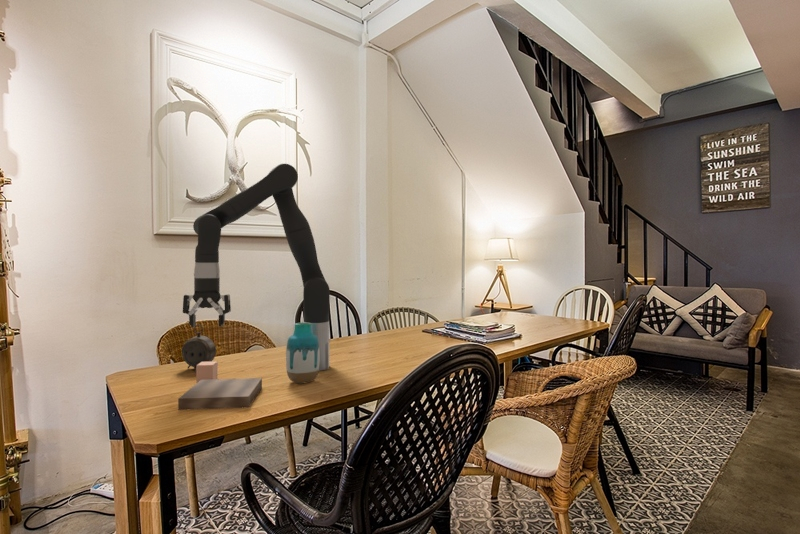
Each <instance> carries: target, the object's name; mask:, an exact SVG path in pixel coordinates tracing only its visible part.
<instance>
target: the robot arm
mask: <svg viewBox="0 0 800 534" xmlns="http://www.w3.org/2000/svg"><path fill="white" fill-rule="evenodd" d="M298 175H299V174H298V172H297V169H296V168H295V167H294V166H292V165H291V164H290V163H280V164H277V165H275V166H274V167H273V168H272V169H271V170H269V172H268V173H267V175H265V176H264V177H263V178H262V179H260V180H259V181H257V182H256V183H254V184H252V185H251V186H250V187H247V188H246V189H244V190H242V191H241V192H239V193H237V194H235V195H234V196H231V197H230V198H228V199H226V200H225V201H224V202H222V203H221V204H220V205H218V206H216V207H215V208H213V209H210V210H209V211H207V212H205V213H204V214H201V215H200V216H198V217H197V218H196V219H195V220H194V222H193V224H192V225H193V230H194V232H195V234H197V245H196V247H195V250H194V252H195V253H194V269H193V271H194V272H193V277H194V279H193V280H194V281H193V282H194V283H193V285H194V286H193V288H194V290H193V291H194V293H193V294H184V295H183V298H182V299H183V301H182V314H186V315H188V317H189V318H188V321H189V322H188V324H189V326H191V328H194V327H195V326H196V325H197V324H196V319H197V317H196V316H197V315H196V312H197V311H198V310H199V309H204V308H206V309H212V308H213V309H214V310H215V311H216V312H217V313H218V314H219V315H218V327H223V326H224V325H225V322H226V321H225V320H226V319H225V318H226V317H225V316H226V314H228V313H230V312H231V311H232V308H231V307H232V306H231V295H230V294H229V293H228V294H221V292H220V291H221V290H220V287H221V286H220V285H221V284H220V280H221V279H220V277H221V276H220V274H221V273H220V272H221V270H220V263H219V262H220V259H219V258H220V256H219V253H220V252H219V250H220V249H219V248H220V247H219V246H220V244H221V243H220V242H221V236H222V235H221V234H222V228H224V227H226V226H227V225H229V224H231V223H234V222H236V221H238V220H240V218H243V216H245V215H247V214H248V213H250V212H251V211H253V210H254V209H255V208H257V207H258V206H259V205H260V204H262V203H263V202H264V201H266V200H267V199H269V198H270V197H272V198H273V199H274V202H275V204H276V208H277V209H278V213H279V216H280V220H281V224H282V227H283V230H284V231H283V232H284V234H285V237H286V240H287V244H288V247H289V249H290V252H291V254H292V257H293V258H294V260H295V262H296V264H297V266H298V268H299V273H300V275H301V281H302V286H303V299H302V300H303V301H302V303H303V304H302V305H303V306H302V307H303V322H307V323H311V325H312V333H313V334H314V335H316V336H317V338H318V340H319V350H320V361H319V372H320V371H325V370H327V371H328V370H329V369H330V309H331V308H330V301H331V300H330V299H331V297H330V295H331V292H330V286H329V283H328V282H327V281H326V279H325V277H324V274H323V272H322V269H321V267H320V266H321V265H320V264H319V260H318V253H317V249H316V243H315V239H314V236H313V233H312V229H311V226H310V223H309V221H308V219H307V218H306V217H305V215H304V214H303V212H302V210H301V209H300V207H299V206H298V204H297V201H296V198H295V195H294V191H293V188H294V187H295V186H296V184H297V182H298V181H299V180H298V179H299V178H298V177H299V176H298ZM192 300H193V301H194V302H195V303H194V304H193V305H192V307H191V306H190V305H191V302H192ZM220 300H222V302H223V304H224V307H222V305H221V303H219V302H220ZM190 307H191V309H190ZM196 327H197V326H196ZM196 327H195V328H196Z"/></svg>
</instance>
